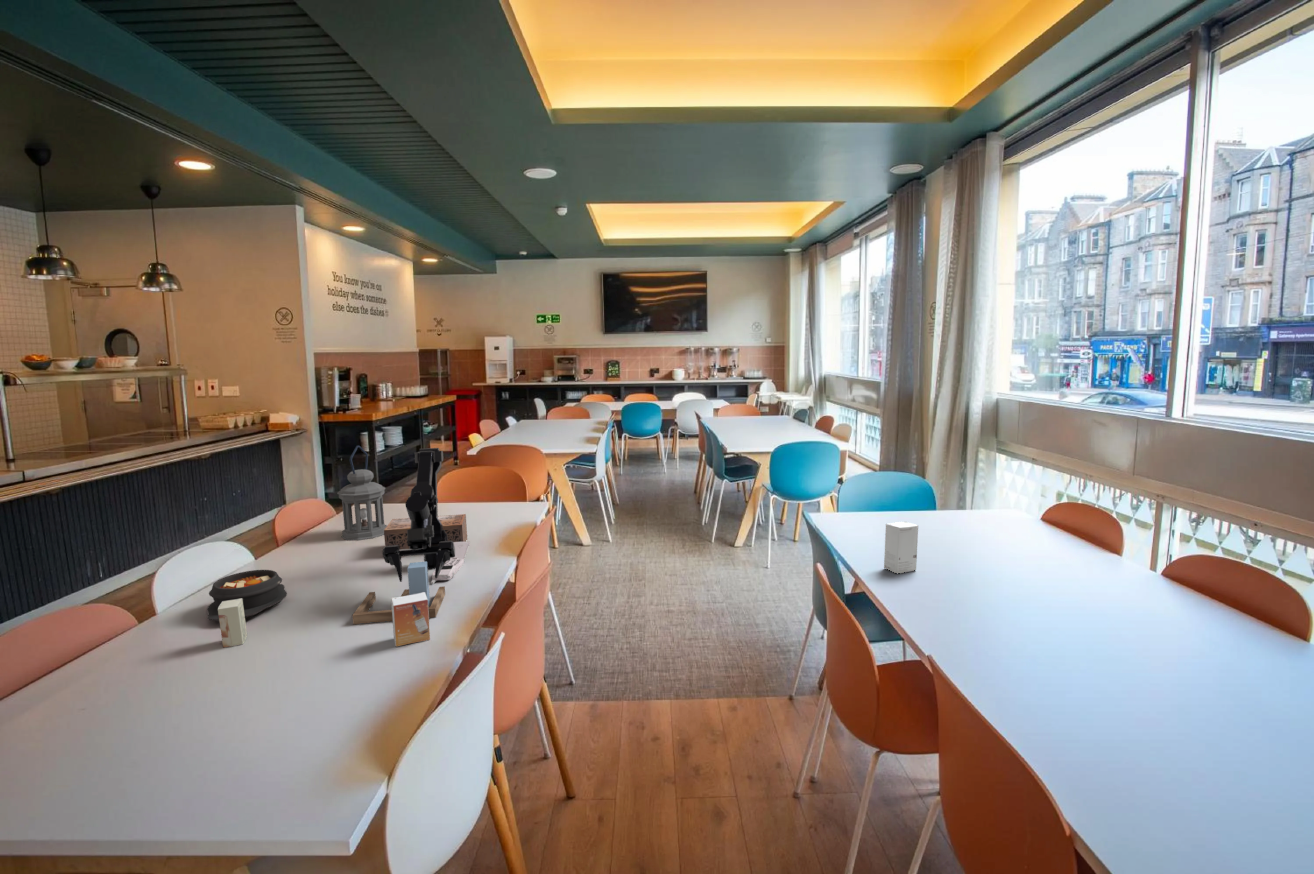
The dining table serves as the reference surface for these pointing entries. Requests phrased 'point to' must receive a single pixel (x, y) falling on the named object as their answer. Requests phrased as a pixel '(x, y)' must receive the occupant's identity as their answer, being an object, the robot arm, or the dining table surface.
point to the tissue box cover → (399, 527)
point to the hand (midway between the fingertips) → (418, 579)
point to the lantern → (362, 493)
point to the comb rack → (386, 615)
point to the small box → (410, 619)
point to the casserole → (247, 591)
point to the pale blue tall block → (418, 579)
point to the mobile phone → (453, 562)
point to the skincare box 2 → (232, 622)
